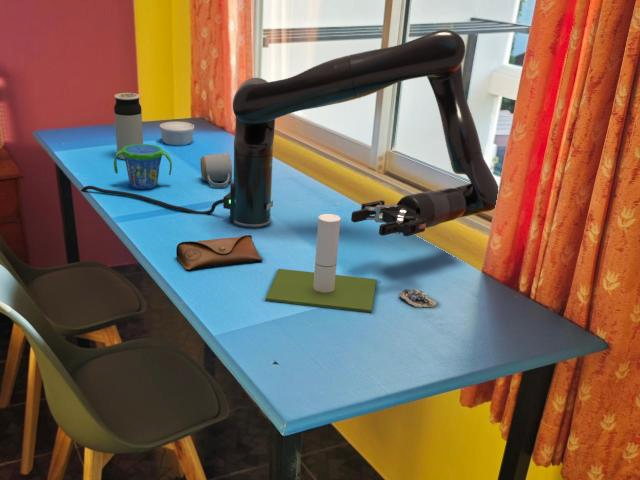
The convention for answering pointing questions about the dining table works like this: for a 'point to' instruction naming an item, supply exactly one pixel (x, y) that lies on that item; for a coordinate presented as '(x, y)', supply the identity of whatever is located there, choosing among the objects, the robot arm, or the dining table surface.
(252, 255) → the sunglasses case
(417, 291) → the rough mineral rock
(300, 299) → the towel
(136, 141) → the travel mug
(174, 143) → the ramekin
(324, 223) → the tube
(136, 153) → the snack cup
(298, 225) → the dining table surface
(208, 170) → the ceramic mug
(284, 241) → the dining table surface
